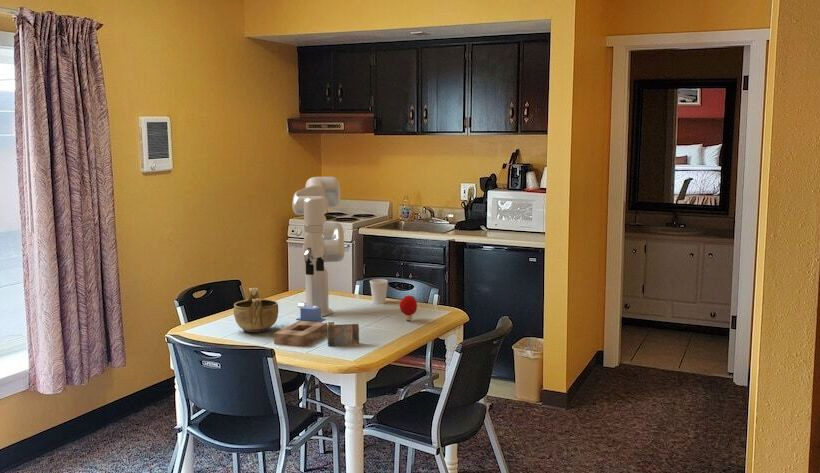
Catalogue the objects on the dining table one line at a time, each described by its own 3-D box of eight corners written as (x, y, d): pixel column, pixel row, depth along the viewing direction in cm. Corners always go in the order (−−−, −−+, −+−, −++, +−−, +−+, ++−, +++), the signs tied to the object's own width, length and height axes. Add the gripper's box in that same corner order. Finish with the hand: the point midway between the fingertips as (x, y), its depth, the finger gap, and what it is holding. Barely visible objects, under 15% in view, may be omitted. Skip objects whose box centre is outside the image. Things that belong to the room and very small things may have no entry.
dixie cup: (371, 300, 359) (371, 278, 358) (389, 300, 358) (389, 279, 357) (368, 304, 351) (367, 282, 350) (386, 304, 350) (386, 282, 349)
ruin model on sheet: (327, 347, 284) (327, 321, 282) (327, 345, 287) (327, 319, 285) (359, 346, 285) (359, 320, 284) (358, 344, 288) (358, 318, 287)
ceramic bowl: (233, 325, 315) (232, 288, 313) (276, 322, 320) (275, 286, 317) (235, 339, 294) (234, 300, 292) (281, 336, 298) (280, 297, 296)
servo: (296, 327, 311) (295, 306, 310) (301, 325, 315) (300, 304, 314) (321, 329, 307) (321, 308, 306) (325, 327, 311) (325, 306, 310)
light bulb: (414, 324, 315) (414, 299, 314) (397, 323, 317) (397, 298, 315) (419, 318, 324) (418, 294, 323) (402, 317, 326) (402, 294, 325)
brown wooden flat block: (274, 343, 287) (273, 333, 287) (299, 330, 306) (299, 320, 306) (303, 346, 283) (303, 335, 283) (327, 333, 302) (327, 322, 302)
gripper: (314, 227, 316) (315, 269, 318) (295, 231, 300) (296, 275, 302) (331, 227, 314) (332, 269, 316) (313, 231, 297) (314, 276, 299)
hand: (315, 272), depth 309 cm, fingers open, 9 cm apart
